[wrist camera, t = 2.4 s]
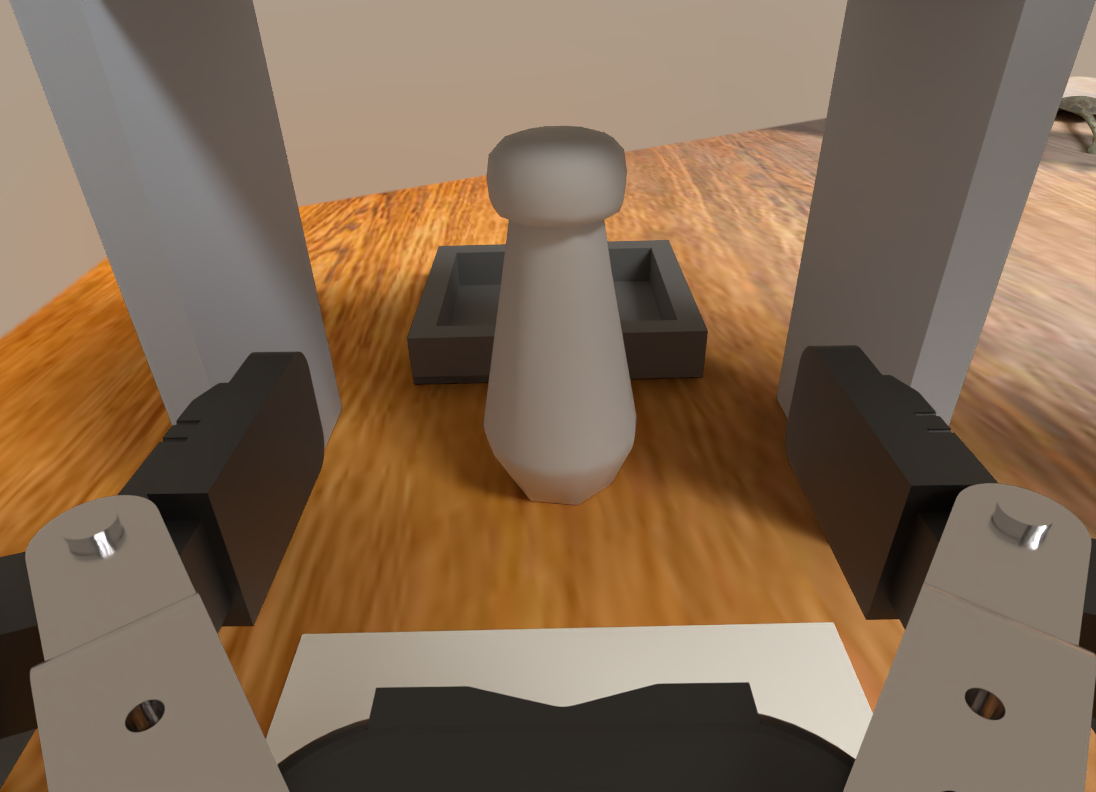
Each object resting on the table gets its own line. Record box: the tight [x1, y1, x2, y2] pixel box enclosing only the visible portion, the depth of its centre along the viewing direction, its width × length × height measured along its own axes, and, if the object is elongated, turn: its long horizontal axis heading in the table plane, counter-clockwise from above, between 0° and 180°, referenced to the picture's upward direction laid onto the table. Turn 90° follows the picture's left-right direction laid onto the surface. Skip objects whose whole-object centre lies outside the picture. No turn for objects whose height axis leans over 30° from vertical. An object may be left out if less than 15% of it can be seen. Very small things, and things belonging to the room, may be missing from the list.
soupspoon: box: [1058, 96, 1096, 154], centre depth 74 cm, size 22×3×7 cm
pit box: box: [407, 240, 708, 384], centre depth 38 cm, size 14×12×2 cm
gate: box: [9, 0, 1096, 449], centre depth 23 cm, size 23×10×20 cm, turn 90°
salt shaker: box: [483, 126, 636, 505], centre depth 25 cm, size 6×6×13 cm
